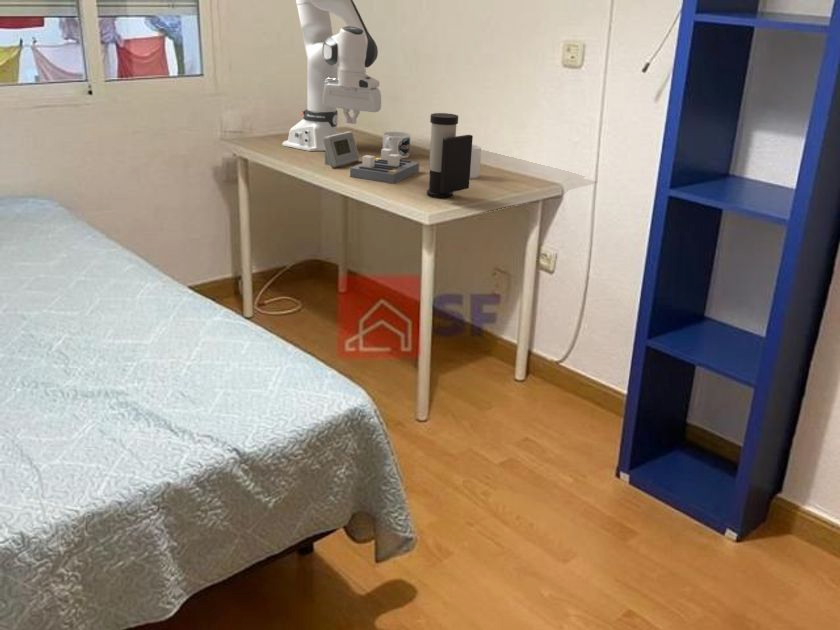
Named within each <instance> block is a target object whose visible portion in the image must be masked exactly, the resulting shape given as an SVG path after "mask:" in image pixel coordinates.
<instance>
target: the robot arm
mask: <svg viewBox="0 0 840 630" xmlns="http://www.w3.org/2000/svg"><path fill="white" fill-rule="evenodd" d="M295 3H296V7H297V13H298V17H299V23H300V29H301V33H302V39H303V45H304V49H305V54H306V61H307V76H306V77H307V88H306V91H307V92H306V93H307V95H306V100H307V102H306V103H307V104H306V105H307V106H306V108H307V109H305V110H303V111H301V114H300V115H301V116H303V118H302V119H301V120H300V121H298V122H297V123H296V124H295V125H294V126H292V127H291V128H290V129H289V132H288V139H287V140H284V141H283V142H282V146H283V147H288V148H289V147H290V148H292V149H293V148H294V149H297V150H298V149H299V150H304V151H309V152H315V151H316V152H317V151H319V152H320V151H326V149H325V145H324V141H323V139H324V137H326V136H330V135H333V134H337V133H338V121H339V120H338V119H339V118H338V117H339V116H338V113H339V112H338V109H342V113H343V114H344V117H345V119H346V120H345V122H346V124H353V125H355V124H357V118H358V117H359V115H360V114H361V112H366V113H367V112H369V113H378V112H380V110H381V109H382V94H381V91H380V88H379V87H380V81H379V80H378V79H376V78H374V77H371V76H370V75H367V72H366V71H367V69H368V68H369V67H371V66H372V65H373V64H374V63H375V62H376V60H377V58H378V55H379V54H378V53H379V49H378V46H377V43H376V41H375V40H374V38H373V36H372V35H371V34H370V33H369V30H368V28H367V27H366V24H365V22H364V21H363V18H362V17H361V15H360V12H359V10H358V8H357V6H356V4H355V2H354V0H295ZM330 13H331V14H333V15H334V16H337V17H339V18H341V19H342V20H343V21H344V22H345V24H346V26H343V27H341V28H340V30H339V32H338V33H336V34H334V33H333V27H332V21H331V15H330ZM333 34H334V35H333ZM366 68H367V69H366ZM350 110H353V111H352V113H353V116H351V115H350V113H349V112H351V111H350Z"/></svg>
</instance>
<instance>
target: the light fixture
mask: <svg viewBox="0 0 840 630" xmlns="http://www.w3.org/2000/svg"><path fill="white" fill-rule="evenodd" d="M429 122H430V123H431V125H430V126H431V128H430V130H431V131H430V145H429V146H430V147H429V166H428V169H429V186H428V190H426V196H427V197H430V198H433V199H451V198H452V197H453V196H454V193H456V192H460V191H464V190H468V189H470V180H471V179H470V166H471V153H472V145H473V138H474V136H473V135H472V134H463V135H457V125H458V123H459V115H457V114H454V113H446V112H435V113H431V114H430V120H429Z"/></svg>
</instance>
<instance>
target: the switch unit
mask: <svg viewBox="0 0 840 630" xmlns="http://www.w3.org/2000/svg"><path fill="white" fill-rule="evenodd" d="M419 172H420V162H413V161H411V160H406V159H402V158H400V161H399V166H389V165H388V160H381V156H380V157H379V156H378V157H375V162H374V167H372V168H368V167H362V163H359V164H357V165H354V166H352V167H351V166H350V167H349V177H350V178H357V179H363V180H367V181H368V180H369V181H375V182H380V183H381V182H382V183H387V184H395V183H397V182H399V181H402V180H404V179H405V178H408V177H410V176H413V175H415V174H416V173H419Z"/></svg>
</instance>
